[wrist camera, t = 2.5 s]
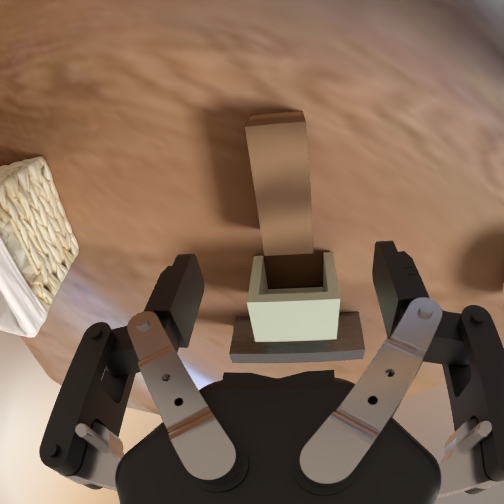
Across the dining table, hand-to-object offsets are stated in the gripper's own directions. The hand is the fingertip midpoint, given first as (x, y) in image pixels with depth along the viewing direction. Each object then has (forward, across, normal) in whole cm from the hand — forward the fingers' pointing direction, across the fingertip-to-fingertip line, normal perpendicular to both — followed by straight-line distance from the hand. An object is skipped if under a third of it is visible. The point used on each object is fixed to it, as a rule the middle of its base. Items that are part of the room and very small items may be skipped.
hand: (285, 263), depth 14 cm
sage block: (+16, 0, +15) cm, 22 cm away
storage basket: (+17, +37, +2) cm, 41 cm away
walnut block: (+17, 0, +3) cm, 17 cm away
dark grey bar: (+17, +1, +24) cm, 29 cm away
